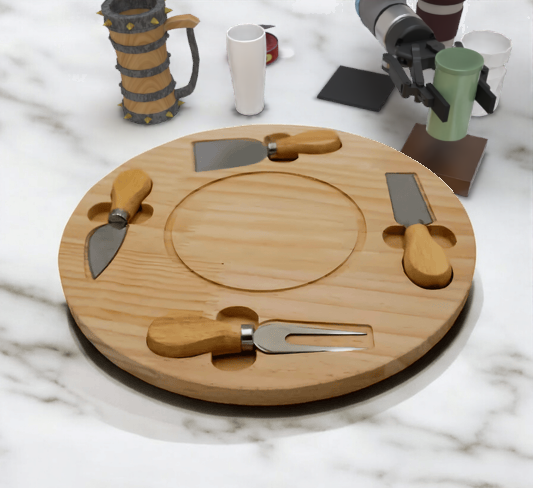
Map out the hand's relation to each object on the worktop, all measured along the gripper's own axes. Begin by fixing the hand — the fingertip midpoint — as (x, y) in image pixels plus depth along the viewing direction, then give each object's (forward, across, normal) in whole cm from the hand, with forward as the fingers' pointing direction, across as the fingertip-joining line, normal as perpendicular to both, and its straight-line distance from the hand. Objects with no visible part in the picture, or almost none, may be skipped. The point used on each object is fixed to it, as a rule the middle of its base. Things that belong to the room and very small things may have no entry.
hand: (469, 109), depth 93 cm
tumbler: (-5, 0, -7) cm, 8 cm away
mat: (-31, +4, -14) cm, 34 cm away
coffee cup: (-40, -15, -14) cm, 45 cm away
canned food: (-50, +20, -14) cm, 55 cm away
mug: (-36, +41, -14) cm, 56 cm away
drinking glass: (-31, +26, -14) cm, 42 cm away
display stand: (-5, 0, -14) cm, 15 cm away
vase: (-20, -14, -14) cm, 28 cm away
